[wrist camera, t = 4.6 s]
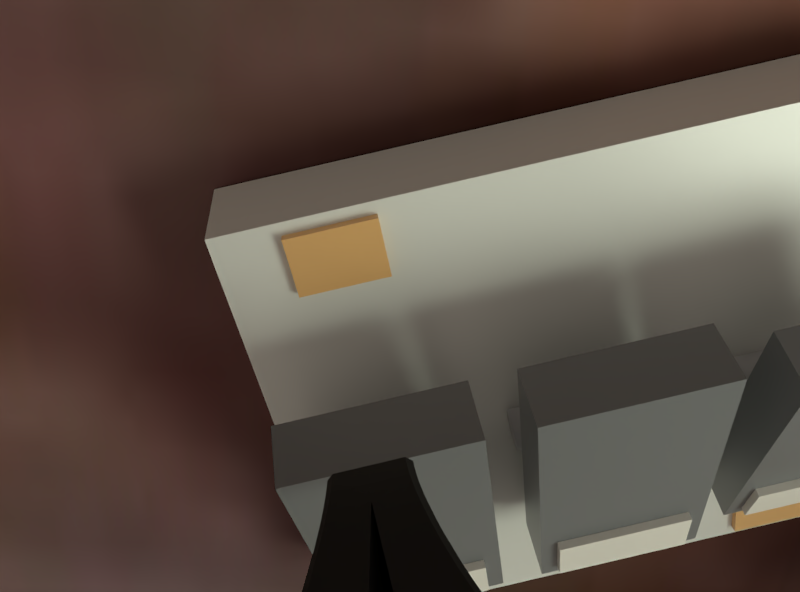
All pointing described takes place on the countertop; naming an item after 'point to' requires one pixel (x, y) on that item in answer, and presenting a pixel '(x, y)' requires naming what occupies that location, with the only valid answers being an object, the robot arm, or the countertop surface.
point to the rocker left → (391, 439)
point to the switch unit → (523, 258)
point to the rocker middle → (624, 445)
